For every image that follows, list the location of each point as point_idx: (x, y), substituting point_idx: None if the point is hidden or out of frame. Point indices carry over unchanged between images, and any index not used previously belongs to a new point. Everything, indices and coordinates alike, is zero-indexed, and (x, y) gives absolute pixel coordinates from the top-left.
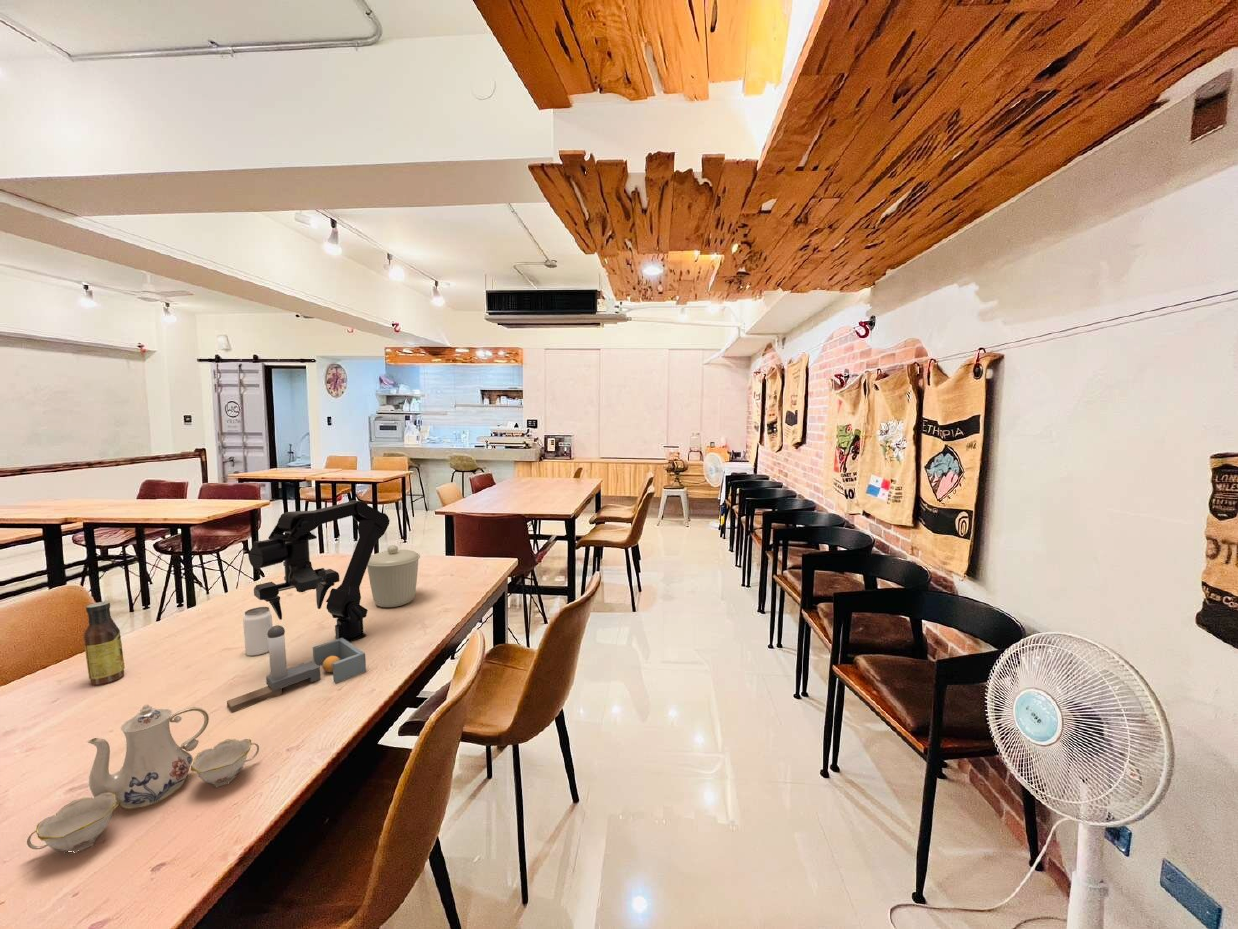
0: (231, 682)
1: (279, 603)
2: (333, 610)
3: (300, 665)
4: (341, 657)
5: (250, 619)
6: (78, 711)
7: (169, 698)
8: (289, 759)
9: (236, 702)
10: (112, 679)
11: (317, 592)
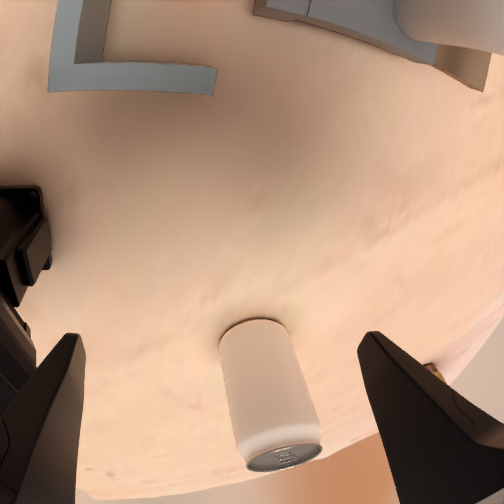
0: (399, 212)
1: (467, 431)
2: (7, 327)
3: (327, 8)
4: (102, 48)
5: (317, 428)
6: (486, 306)
7: (463, 248)
8: None
9: (480, 58)
10: (427, 367)
11: (63, 497)
